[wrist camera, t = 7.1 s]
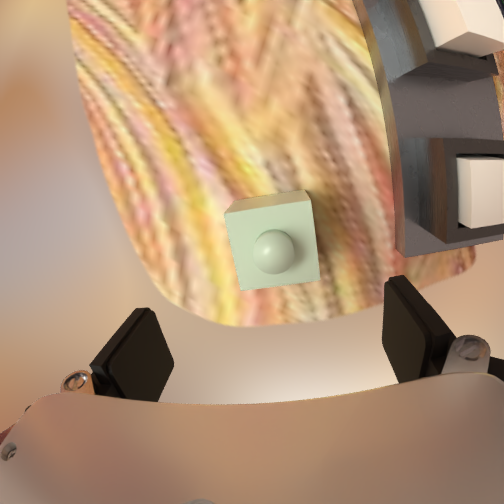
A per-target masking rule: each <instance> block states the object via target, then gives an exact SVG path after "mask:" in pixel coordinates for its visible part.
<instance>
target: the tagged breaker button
mask: <svg viewBox="0 0 504 504" xmlns="http://www.w3.org/2000/svg"><path fill="white" fill-rule="evenodd" d="M456 161H457V177H458V222H460V223H461V224H463V225H465V226H467V227H469V228H471V229H472V228H478V227H484V226H490V225H497V224H503V223H504V159H502V158H496V157H490V156H483V155H476V154H456Z"/></svg>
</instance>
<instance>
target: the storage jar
mask: <svg viewBox="0 0 504 504" xmlns="http://www.w3.org/2000/svg"><path fill="white" fill-rule="evenodd" d="M496 2H497V4H498V7H499V9H500V11H501V13H502V16H503V18H504V0H496Z"/></svg>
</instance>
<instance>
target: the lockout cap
mask: <svg viewBox="0 0 504 504" xmlns="http://www.w3.org/2000/svg"><path fill="white" fill-rule="evenodd" d="M224 218H225V222H226V227H227V232H228V236H229V241H230V245H231V250H232V254H233V259H234V263H235V267H236V272H237V276H238V281H239V285H240V289H241V291H244V290H252V289H260V288H268V287H276V286H283V285H291V284H298V283H305V282H312V281H319V280H320V272H319V262H318V253H317V244H316V236H315V227H314V220H313V212H312V205H311V200H310V198H309V196H308V195H307V193H306V191H305V190H297V191H291V192H284V193H278V194H271V195H265V196H259V197H253V198H247V199H241V200H236V201H234V202H233V203H232V204H231V205H230V207H229V208H228V209H227V210H226V212H225V213H224Z"/></svg>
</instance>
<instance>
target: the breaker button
mask: <svg viewBox="0 0 504 504" xmlns="http://www.w3.org/2000/svg"><path fill="white" fill-rule="evenodd" d="M418 2H419V4H420V6H421V9H422V11H423V14H424V16H425V19H426V22H427V24H428V27H429V30H430V33H431V36H432V39H433V42H434V45H435V48H436V50H439V51H445V52H450V53H456V54H461V55H465V56H470V57H474V58H479V57H482V56H485V55H488V54H491V53H495V52H498V51H501V50H504V18H503V16H502V13H501V11H500V9H499V7H498V4H497V2H496V0H418Z"/></svg>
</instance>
